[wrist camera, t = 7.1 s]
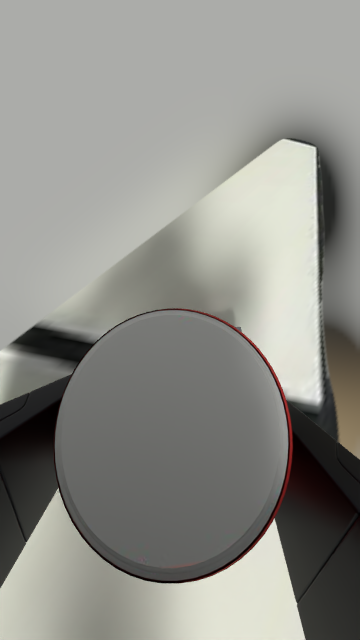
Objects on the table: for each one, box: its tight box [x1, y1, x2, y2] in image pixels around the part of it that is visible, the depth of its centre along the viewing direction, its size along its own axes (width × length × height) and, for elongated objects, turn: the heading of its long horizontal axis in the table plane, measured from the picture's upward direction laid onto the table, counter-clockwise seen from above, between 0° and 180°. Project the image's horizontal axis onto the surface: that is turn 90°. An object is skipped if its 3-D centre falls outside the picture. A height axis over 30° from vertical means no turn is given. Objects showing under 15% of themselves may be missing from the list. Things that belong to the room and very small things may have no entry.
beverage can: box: [53, 309, 293, 583], centre depth 9 cm, size 6×6×12 cm
